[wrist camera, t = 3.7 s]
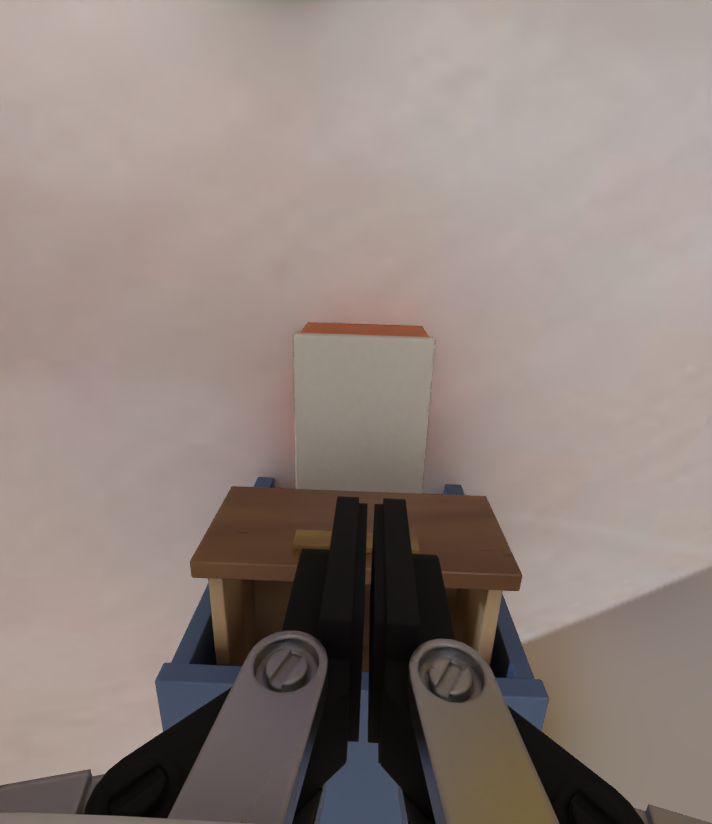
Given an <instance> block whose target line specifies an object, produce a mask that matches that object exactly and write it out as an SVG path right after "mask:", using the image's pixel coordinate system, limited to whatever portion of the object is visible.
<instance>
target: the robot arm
mask: <svg viewBox="0 0 712 824" xmlns="http://www.w3.org/2000/svg"><path fill="white" fill-rule="evenodd" d="M367 507H368V503H359V497H346V496H337V502H336V509H335V516H334V522H333V529H332V536H331V542H330V549H308V548H302V550H301V553H300V557H299V561H298V565H297V569H296V573H295V578H294V582H293V586H292V590H291V594H290V598H289V602H288V607H287V611H286V615H285V619H284V623H283V627H282V631H281V632H277V633H274V634H271V635H269V636H267V637H265V638H263V639H262V640H261V641H260V642H258V643H257V644H256V645H255V646H254V647H253V648H252V650H251V651H250V653H249V654H248V656H247V658H246V660H245V662H244V664H243V666H242V668H241V670H240V672H239V674H238V676H237V678H236V680H235V682H234V684H233V686H232V687H231V688H229V689H228V690H226V691H225V692H223V693H222V694H220V695H219V696H217V697H216V698H214V699H213V700H211V701H210V702H208V703H207V704H205V705H204V706H202V707H200V708H199V709H197V710H196V711H194V712H193V713H191V714H190V715H188V716H187V717H185V718H184V719H182V720H181V721H179V722H178V723H176V724H175V725H173V726H172V727H170V728H169V729H167V730H166V731H164V732H162V733H161V734H159V735H158V736H156V737H155V738H153V739H152V740H150V741H149V742H147V743H146V744H144V745H143V746H141V747H140V748H138V749H137V750H135V751H134V752H132V753H131V754H129V755H128V756H126V757H124V758H123V759H122V760H121V761H119V762H118V763H117V764H116V765H114V766H113V767H112V768H111V769H109V770H108V771H107V773H106V774H103V775H98V776H92V774H91V770H90V769H89V770H84V771H78V772H72V773H67V774H61V775H56V776H50V777H45V778H39V779H34V780H28V781H23V782H17V783H12V784H6V785H1V786H0V824H319V822H320V818H321V813H322V809H323V804H324V800H325V795H326V785H327V781H328V780H329V779H330V778H331V777H332V776H333V775H334V774H335V773H336V772H337V771H338V770H340V769H341V768H342V767H343V766H344V765H345V764H346V761H347V747H348V742H359V724H360V702H361V680H362V658H363V636H364V609H365V575H366V541H367ZM368 743H378V763H380V764H381V767H382V768H383V769H384V770H385V771H386V772H387V773H388V774H389V775H390V776H391V778H392V779H393V780H394V781H395V782H396V783H397V784H398V800H399V806H400V812H401V818H402V824H712V823H709V822H706V821H703V820H699V819H696V818H693V817H690V816H686V815H683V814H680V813H676V812H673V811H670V810H666V809H663V808H659V807H656V806H653V805H648V807H647V810H646V811H643V810H640V809H636V808H633V806H632V805H631V804H630V803H629V802H628V801H627V800H626V799H625V798H624V797H623V796H622V795H621V794H620V793H619V792H618V791H617V790H616V789H615V788H613V787H612V786H611V785H609V784H608V783H607V782H606V781H604V780H603V779H602V778H600V777H599V776H598V775H597V774H595V773H594V772H593V771H591V770H590V769H589V768H588V767H586V766H585V765H584V764H582V763H581V762H580V761H579V760H577V759H576V758H575V757H574V756H572V755H571V754H570V753H568V752H567V751H565V749H563V748H562V747H561V746H559V745H558V744H557V743H556V742H554V741H553V740H552V739H550V738H549V737H548V736H547V735H545V734H544V733H543V732H541V731H540V730H539V729H538V728H536V727H535V726H534V725H532V724H531V723H530V722H529V721H527V720H526V719H525V718H524V717H522V716H521V715H520V714H518V713H517V712H516V711H515V710H513V709H512V708H511V707H509V706H508V705H507V704H506V702H505V699H504V697H503V695H502V692H501V690H500V688H499V686H498V683H497V681H496V679H495V677H494V674H493V672H492V670H491V668H490V666H489V665H488V663H487V662H486V660H485V658H484V657H482V656H481V655H480V654H479V653H478V652H477V651H476V650H475V649H473V648H472V647H470V646H468V645H466V644H465V643H462V642H459V641H456V640H455V636H454V631H453V626H452V621H451V616H450V611H449V606H448V601H447V596H446V591H445V586H444V581H443V576H442V571H441V566H440V561H439V558H438V556H437V555H431V554H412V549H411V541H410V532H409V524H408V515H407V507H406V500H405V499H390V498H383V504H375V505H374V525H373V545H372V565H371V585H370V619H369V684H368Z"/></svg>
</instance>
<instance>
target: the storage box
mask: <svg viewBox="0 0 712 824" xmlns="http://www.w3.org/2000/svg"><path fill="white" fill-rule="evenodd" d="M434 350H435V339H434V338H433V337H428V335H427V333H426V332H425V330H424V329H423V327H422V326H400V325H370V324H340V323H310V322H308V323H307V324H306V325H305V327H304V328H303V329H302V331H301V332H300V333H295V334H294V335H293V357H294V413H295V468H296V489H315V490H340V491H366V492H392V493H418V494H422V485H423V474H424V462H425V451H426V440H427V429H428V418H429V406H430V395H431V384H432V373H433V362H434Z"/></svg>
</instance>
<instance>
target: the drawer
mask: <svg viewBox="0 0 712 824" xmlns="http://www.w3.org/2000/svg"><path fill="white" fill-rule="evenodd" d="M337 496H346V497H359V503H368V507H367V541H366V575H365V609H364V636H363V658H362V672H369V619H370V585H371V565H372V545H373V525H374V505H375V504H383V498H390V499H405V500H406V507H407V515H408V524H409V532H410V541H411V549H412V554H431V555H437V556H438V558H439V561H440V566H441V571H442V576H443V581H444V586H445V591H446V596H447V601H448V606H449V611H450V616H451V621H452V626H453V631H454V636H455V640H456V641H459V642H462V643H465V644H466V645H468V646H470V647H472V648H473V649H475V650H476V651H477V652H478V653H479V654H480V655H481V656H482V657H484V658H485V660H486V662H487V663H488V665H489V666H490V661H491V655H492V650H493V644H494V638H495V632H496V627H497V621H498V615H499V609H500V603H501V598H502V592H503V590H505V591H519V589H520V584H521V579H522V574H521V571H520V569H519V567H518V565H517V563H516V561H515V558H514V556H513V554H512V552H511V550H510V547H509V545H508V543H507V541H506V539H505V537H504V534H503V532H502V530H501V528H500V526H499V524H498V521H497V519H496V517H495V515H494V513H493V511H492V508H491V506H490V504H489V502H488V500H487V497H486V496H470V495H444V494H418V493H392V492H366V491H340V490H315V489H289V488H263V487H237V486H233V487H231V489H230V491H229V492H228V494H227V496H226V498H225V500H224V501H223V503H222V505H221V507H220V509H219V510H218V512H217V514H216V516H215V518H214V519H213V521H212V523H211V525H210V526H209V528H208V530H207V532H206V534H205V535H204V537H203V539H202V541H201V543H200V544H199V546H198V548H197V550H196V552H195V553H194V555H193V557H192V559H191V561H190V566H191V575H192V577H193V578H208V582H209V592H210V602H211V612H212V622H213V632H214V642H215V652H216V662H217V665H225V666H243V664H244V662H245V660H246V658H247V656H248V654H249V653H250V651H251V650H252V648H253V647H254V646H255V645H256V644H257V643H258V642H260V641H261V640H262V639H263V638H265V637H267V636H269V635H271V634H274V633H277V632H281V631H282V627H283V623H284V619H285V615H286V611H287V607H288V602H289V598H290V594H291V590H292V586H293V582H294V578H295V573H296V569H297V565H298V561H299V557H300V553H301V550H302V548H308V549H330V542H331V536H332V529H333V522H334V516H335V509H336V502H337Z"/></svg>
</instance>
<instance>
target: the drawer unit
mask: <svg viewBox="0 0 712 824" xmlns="http://www.w3.org/2000/svg"><path fill="white" fill-rule="evenodd" d="M254 487H263V488H274V479H273V478H260V477H259V478H257V481H256V483H255V485H254ZM444 495H464V492H463V489H462V487H461V485H445V491H444ZM241 668H242V666H225V665H217V662H216V652H215V642H214V632H213V622H212V612H211V602H210V592H209V583H208V585H207V587H206V589H205V591H204V594H203V596H202V598H201V600H200V602H199V604H198V606H197V608H196V611H195V613H194V615H193V617H192V619H191V621H190V623H189V626H188V628H187V630H186V632H185V634H184V636H183V638H182V640H181V643H180V645H179V647H178V649H177V651H176V653H175V655H174V658H173V660H172V662H171V663H164V664H163V666H162V668H161V670H160V672H159V674H158V676H157V678H156V680H155V685H156V691H157V697H158V703H159V709H160V715H161V721H162V727H163V732H164V731H166V730H167V729H169V728H170V727H172V726H173V725H175V724H176V723H178V722H179V721H181V720H182V719H184V718H185V717H187V716H188V715H190V714H191V713H193V712H194V711H196V710H197V709H199V708H200V707H202V706H204V705H205V704H207V703H208V702H210V701H211V700H213V699H214V698H216V697H217V696H219V695H220V694H222V693H223V692H225V691H226V690H228V689H229V688H231V687H232V686H233V684H234V682H235V680H236V678H237V676H238V674H239V672H240V670H241ZM490 668H491V670H492V672H493V674H494V677H495V679H496V681H497V683H498V686H499V688H500V690H501V692H502V695H503V697H504V699H505V702H506V704H507V705H508V706H509V707H511V708H512V709H513V710H515V711H516V712H517V713H518V714H520V715H521V716H522V717H524V718H525V719H526V720H527V721H529V722H530V723H531V724H532V725H534V726H535V727H536V728H538V729H539V730H540V731H542V727H543V723H544V718H545V714H546V710H547V706H548V702H549V697H548V695H547V692H546V690H545V687H544V685H543V682H542V680H540V679H534V676H533V673H532V671H531V668H530V666H529V663H528V660H527V658H526V655H525V652H524V650H523V647H522V644H521V642H520V639H519V636H518V634H517V631H516V628H515V626H514V623H513V620H512V618H511V615H510V613H509V610H508V607H507V605H506V602H505V599H504V597H503V594H502V598H501V603H500V609H499V615H498V621H497V627H496V632H495V638H494V644H493V650H492V655H491V661H490ZM368 684H369V672H362V680H361V702H360V724H359V742H348V747H347V761H346V764H345V765H344V766H343V767H342V768H341V769H340V770H338V771H337V772H336V773H335V774H334V775H333V776H332V777H331V778H330V779H329V780H328V781H327V785H326V795H325V800H324V804H323V809H322V813H321V818H320V822H319V824H402V818H401V812H400V806H399V800H398V784H397V783H396V782H395V781H394V780H393V779H392V778H391V776H390V775H389V774H388V773H387V772H386V771H385V770H384V769H383V768H382V767H381V764H380V763H378V743H368Z"/></svg>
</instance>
